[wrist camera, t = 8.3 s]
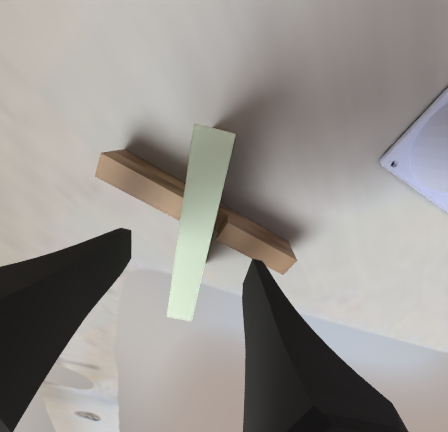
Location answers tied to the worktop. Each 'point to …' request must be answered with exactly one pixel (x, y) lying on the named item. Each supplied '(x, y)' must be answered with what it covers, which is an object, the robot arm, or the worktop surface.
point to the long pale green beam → (198, 215)
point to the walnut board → (173, 200)
